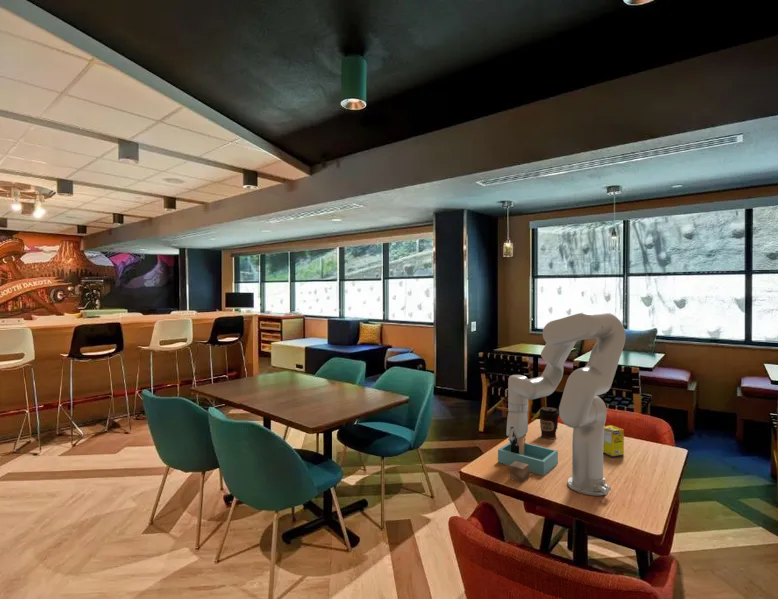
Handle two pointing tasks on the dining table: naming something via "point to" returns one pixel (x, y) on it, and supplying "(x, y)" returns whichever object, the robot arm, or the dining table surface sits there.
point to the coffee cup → (548, 422)
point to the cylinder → (520, 445)
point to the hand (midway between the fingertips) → (517, 452)
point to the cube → (519, 471)
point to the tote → (530, 457)
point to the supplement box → (613, 441)
